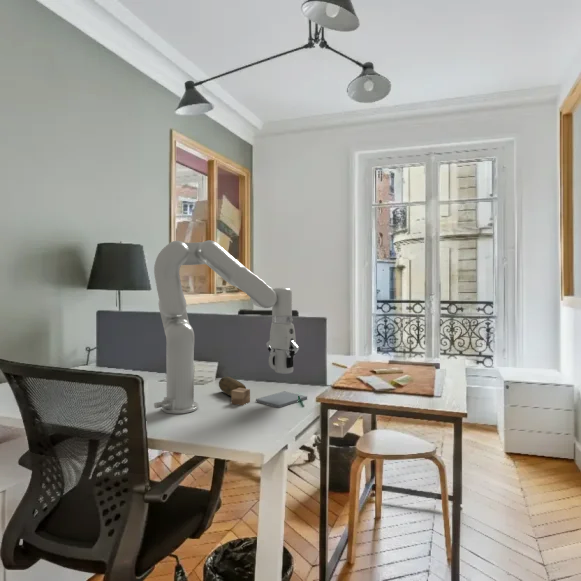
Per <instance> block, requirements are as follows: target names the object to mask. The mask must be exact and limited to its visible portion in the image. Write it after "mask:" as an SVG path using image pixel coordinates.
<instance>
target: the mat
mask: <svg viewBox="0 0 581 581" xmlns="http://www.w3.org/2000/svg"><path fill="white" fill-rule="evenodd" d="M298 396H300V399H301V400H302V401H305V400H308V396H307V395H302V394H297V393H293V392H290V391H289V392H288V391H285V390H284V391H281V392H277V393H273V394H270V395H266V396H262V397H259V398H256V399H255V402H256V401H257V402H256V403H259V402H260V403H259V404H263V403H264V404H263V405H267V404H268V405H267V406H270V405H271V406H270V407H274V408H278V409H279V408H284V407H286V406H289V405H292V404H296V403H298V402H297V401H298Z"/></svg>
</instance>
